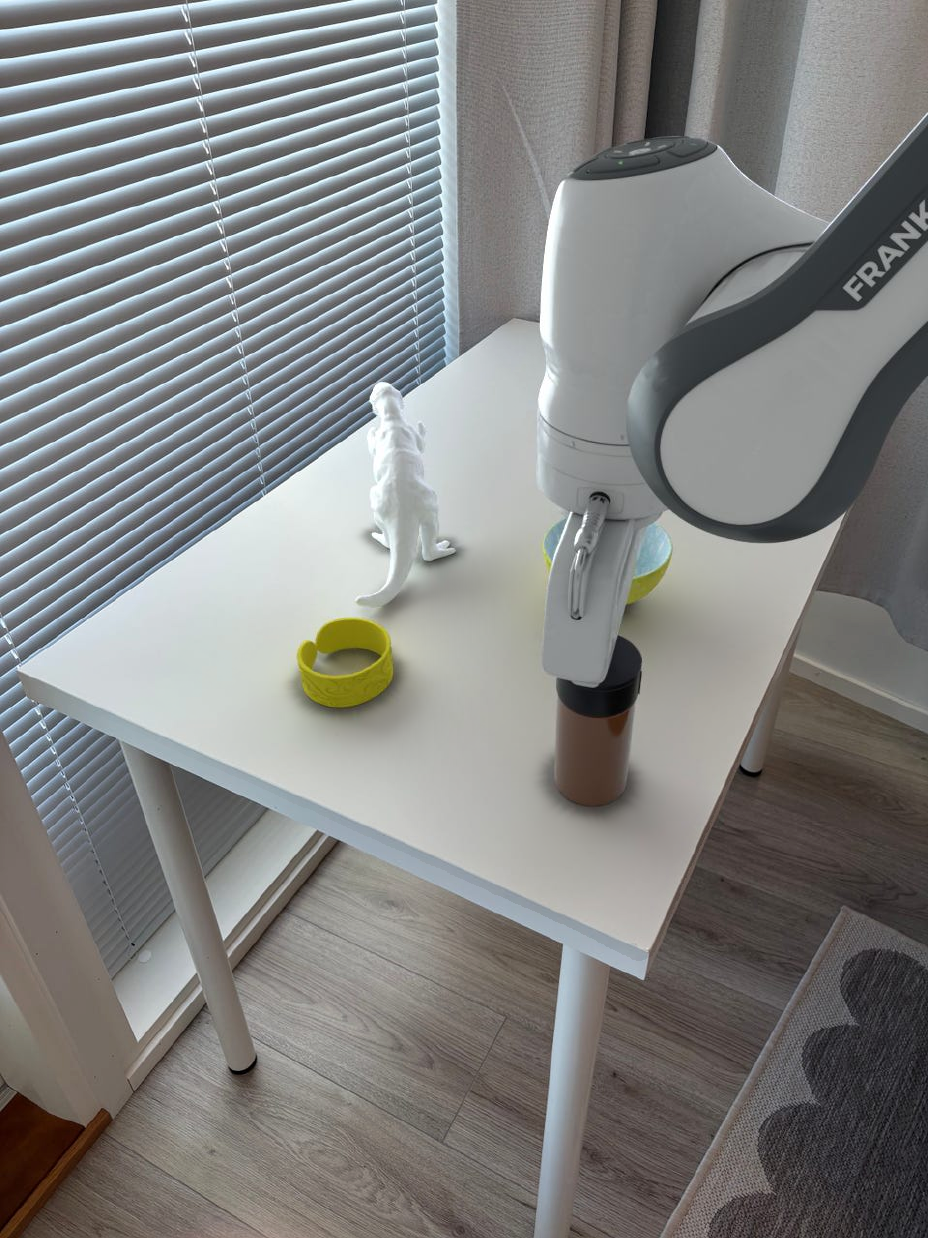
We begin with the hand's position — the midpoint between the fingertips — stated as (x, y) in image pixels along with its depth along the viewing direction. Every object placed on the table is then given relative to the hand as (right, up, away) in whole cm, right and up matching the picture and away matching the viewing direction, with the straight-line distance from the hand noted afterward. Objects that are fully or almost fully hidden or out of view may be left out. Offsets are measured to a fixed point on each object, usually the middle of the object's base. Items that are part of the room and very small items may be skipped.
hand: (598, 639), depth 63 cm
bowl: (+4, +3, +26) cm, 26 cm away
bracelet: (-19, -4, +18) cm, 26 cm away
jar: (+1, -11, +8) cm, 14 cm away
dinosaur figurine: (-15, +7, +31) cm, 35 cm away
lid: (0, -2, +1) cm, 2 cm away
